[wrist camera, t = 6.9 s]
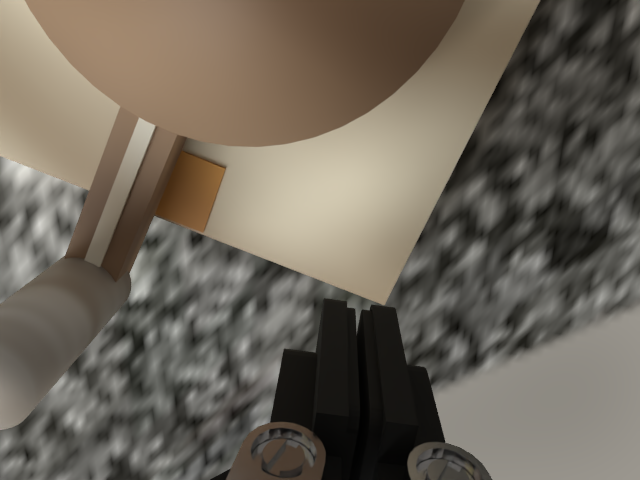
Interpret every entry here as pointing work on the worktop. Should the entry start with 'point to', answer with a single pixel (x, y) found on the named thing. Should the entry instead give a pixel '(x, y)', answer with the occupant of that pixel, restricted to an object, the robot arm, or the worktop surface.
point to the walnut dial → (192, 130)
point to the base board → (282, 152)
